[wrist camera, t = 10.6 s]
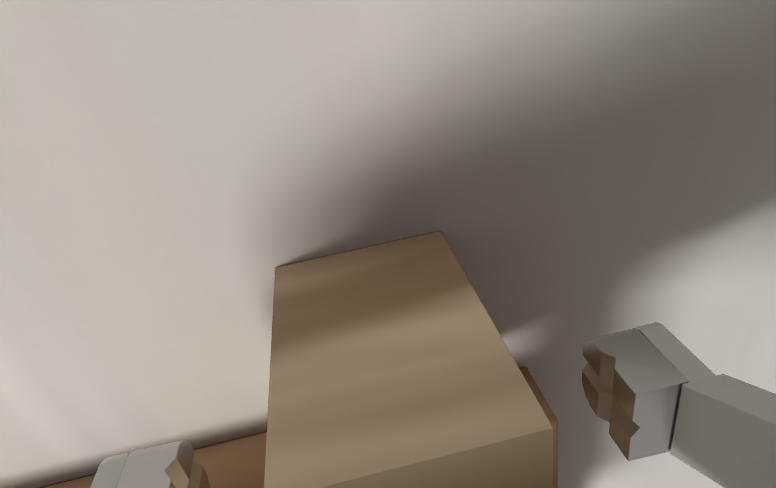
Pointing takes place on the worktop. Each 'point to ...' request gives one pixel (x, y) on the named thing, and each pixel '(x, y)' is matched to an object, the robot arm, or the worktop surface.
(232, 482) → the board
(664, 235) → the worktop surface
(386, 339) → the beige mallet
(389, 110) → the worktop surface
